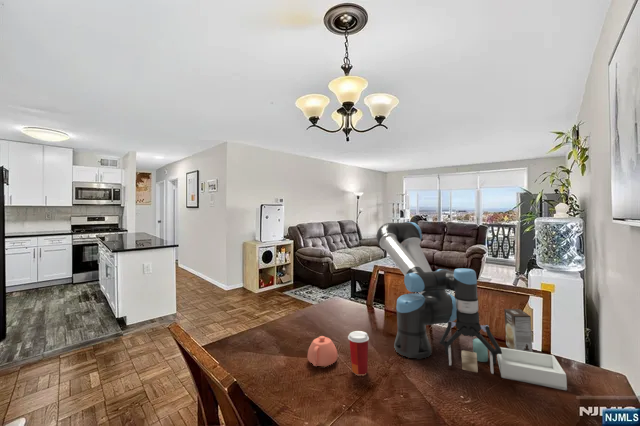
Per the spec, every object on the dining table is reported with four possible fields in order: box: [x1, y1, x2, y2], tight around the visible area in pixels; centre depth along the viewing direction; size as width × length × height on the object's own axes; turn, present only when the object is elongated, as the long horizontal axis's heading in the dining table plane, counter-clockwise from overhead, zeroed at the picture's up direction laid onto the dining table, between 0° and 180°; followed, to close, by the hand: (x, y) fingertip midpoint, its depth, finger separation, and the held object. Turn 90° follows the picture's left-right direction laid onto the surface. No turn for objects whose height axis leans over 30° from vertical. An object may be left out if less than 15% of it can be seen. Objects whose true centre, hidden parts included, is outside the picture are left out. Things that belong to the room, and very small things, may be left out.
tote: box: [496, 346, 568, 391], centre depth 97 cm, size 18×14×5 cm
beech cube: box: [461, 349, 479, 373], centre depth 102 cm, size 5×5×5 cm
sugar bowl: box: [307, 335, 339, 367], centre depth 109 cm, size 12×14×10 cm
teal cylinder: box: [472, 337, 489, 363], centre depth 108 cm, size 5×5×7 cm
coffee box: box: [503, 308, 533, 352], centre depth 114 cm, size 9×6×16 cm
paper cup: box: [347, 330, 370, 374], centre depth 102 cm, size 8×8×14 cm
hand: (470, 367), depth 102 cm, fingers open, 13 cm apart
